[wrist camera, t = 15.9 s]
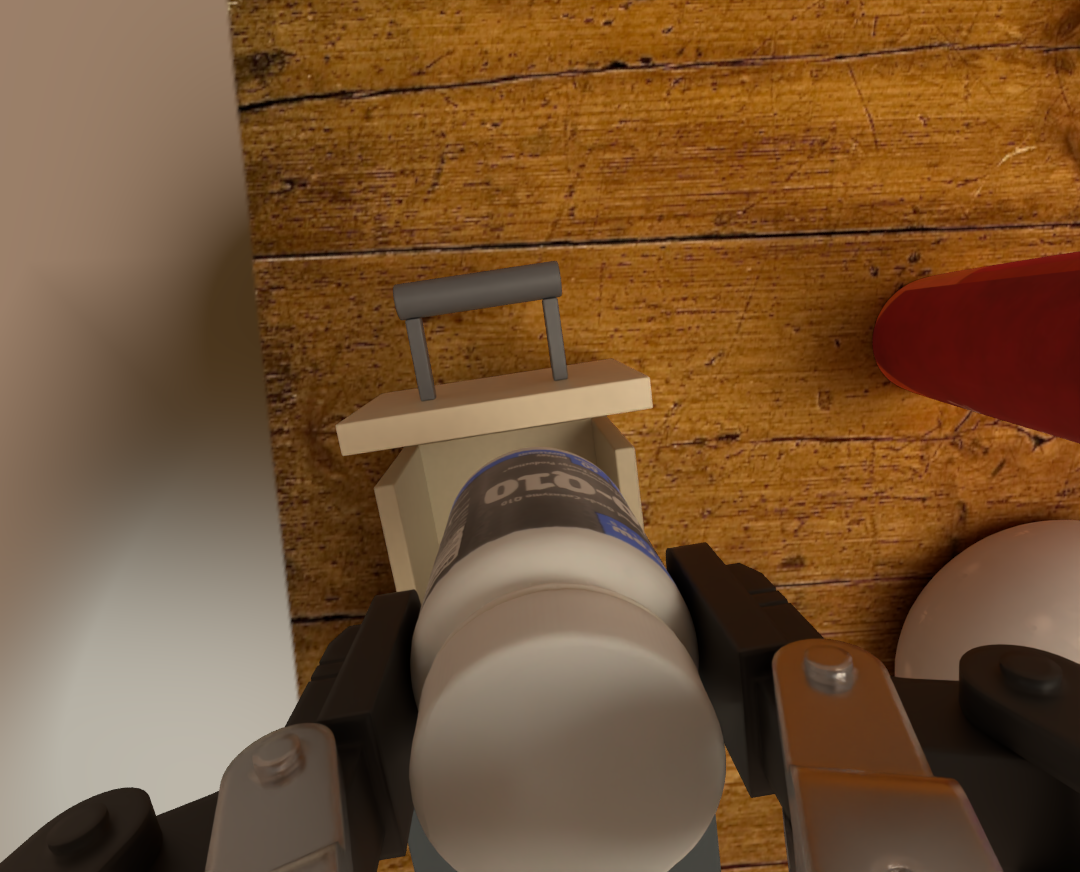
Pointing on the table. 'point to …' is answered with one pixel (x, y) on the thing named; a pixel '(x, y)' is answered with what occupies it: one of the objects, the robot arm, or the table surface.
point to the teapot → (997, 600)
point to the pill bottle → (557, 682)
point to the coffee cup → (991, 341)
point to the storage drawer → (485, 415)
